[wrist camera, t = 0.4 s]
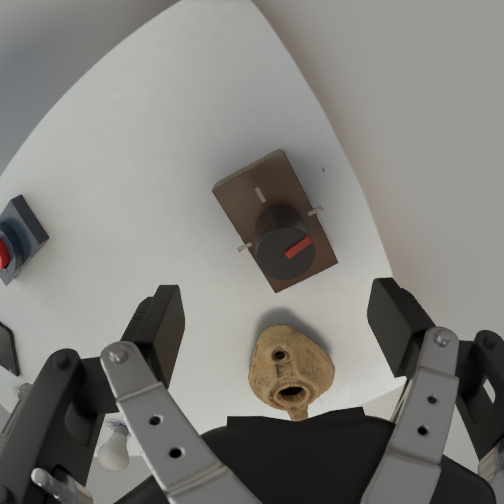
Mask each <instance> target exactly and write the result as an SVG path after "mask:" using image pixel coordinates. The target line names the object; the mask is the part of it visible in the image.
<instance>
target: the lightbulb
mask: <svg viewBox="0 0 504 504" xmlns="http://www.w3.org/2000/svg"><path fill="white" fill-rule="evenodd" d="M127 434H128V430H127V428H125V426H123V425H121V426H117V427H116V429H115V432H114V433H113V434H112V436H111V438H110V440H109V441H108V442H106V443H105V444H104V445H102V446H101V447H100V449H99V451H98V458H99V461H100V463H101V465H102V466H103V467H104V468H106V469H107V470H109V471H112V472H120V471H122V470H124V469H126V467H127V466H128V464H129V456H128V452H127V448H126V443H127Z"/></svg>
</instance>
